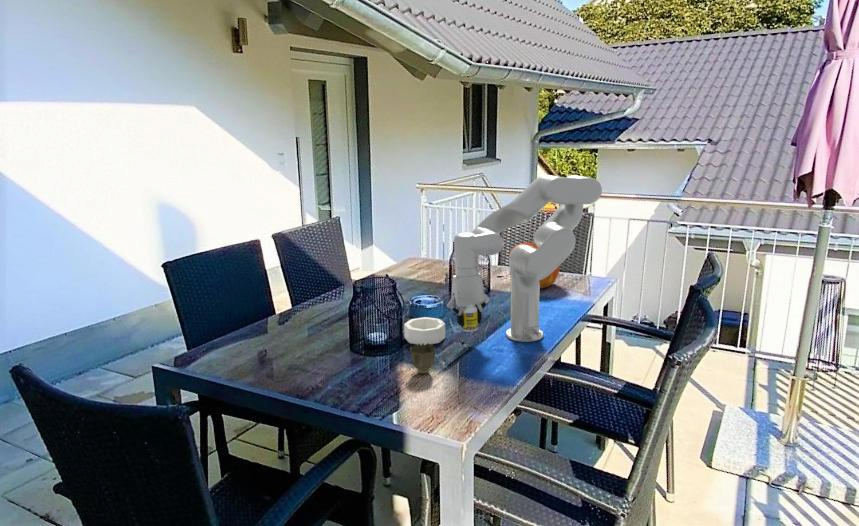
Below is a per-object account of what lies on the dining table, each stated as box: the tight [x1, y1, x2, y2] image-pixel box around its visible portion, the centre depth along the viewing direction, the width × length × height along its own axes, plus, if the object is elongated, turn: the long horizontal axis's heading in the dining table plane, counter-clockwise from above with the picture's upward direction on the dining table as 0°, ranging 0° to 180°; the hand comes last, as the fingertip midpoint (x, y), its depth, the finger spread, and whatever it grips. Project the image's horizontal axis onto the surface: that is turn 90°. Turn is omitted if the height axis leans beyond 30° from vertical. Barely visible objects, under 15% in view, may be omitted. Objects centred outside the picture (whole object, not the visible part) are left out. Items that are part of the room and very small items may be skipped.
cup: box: [409, 343, 436, 375], centre depth 174 cm, size 8×7×8 cm
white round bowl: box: [403, 316, 446, 346], centre depth 203 cm, size 13×13×5 cm
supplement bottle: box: [461, 304, 479, 333], centre depth 195 cm, size 5×5×10 cm
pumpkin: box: [508, 242, 560, 289], centre depth 260 cm, size 23×23×20 cm
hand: (469, 323), depth 195 cm, fingers closed on supplement bottle, 5 cm apart
